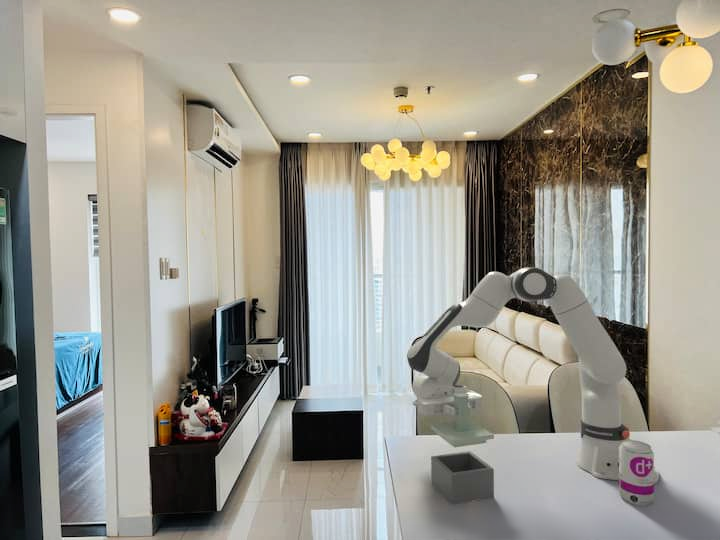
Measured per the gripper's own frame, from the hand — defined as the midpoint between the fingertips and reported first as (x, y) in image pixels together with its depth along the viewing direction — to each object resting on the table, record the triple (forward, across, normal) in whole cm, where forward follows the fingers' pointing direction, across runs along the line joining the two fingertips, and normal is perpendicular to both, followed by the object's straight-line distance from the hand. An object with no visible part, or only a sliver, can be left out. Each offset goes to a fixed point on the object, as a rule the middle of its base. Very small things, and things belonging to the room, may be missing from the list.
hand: (462, 411), depth 134 cm
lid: (-1, 0, +8) cm, 8 cm away
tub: (-1, 0, +23) cm, 23 cm away
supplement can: (+18, +42, +24) cm, 52 cm away
